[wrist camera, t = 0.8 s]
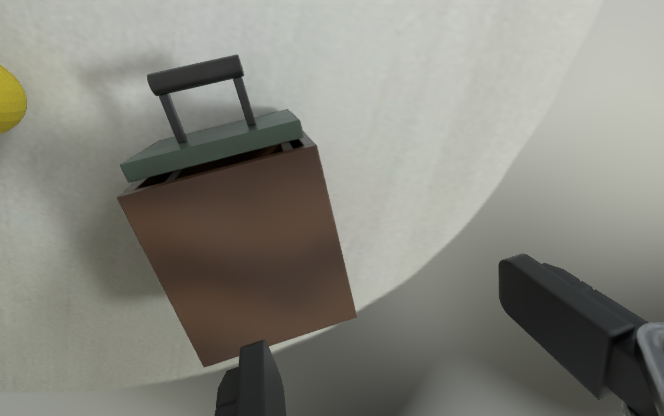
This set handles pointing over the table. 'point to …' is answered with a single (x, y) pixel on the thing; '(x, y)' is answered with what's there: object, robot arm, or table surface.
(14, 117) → the lemon
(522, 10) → the table surface
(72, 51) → the table surface
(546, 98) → the table surface
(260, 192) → the cabinet
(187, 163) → the drawer
